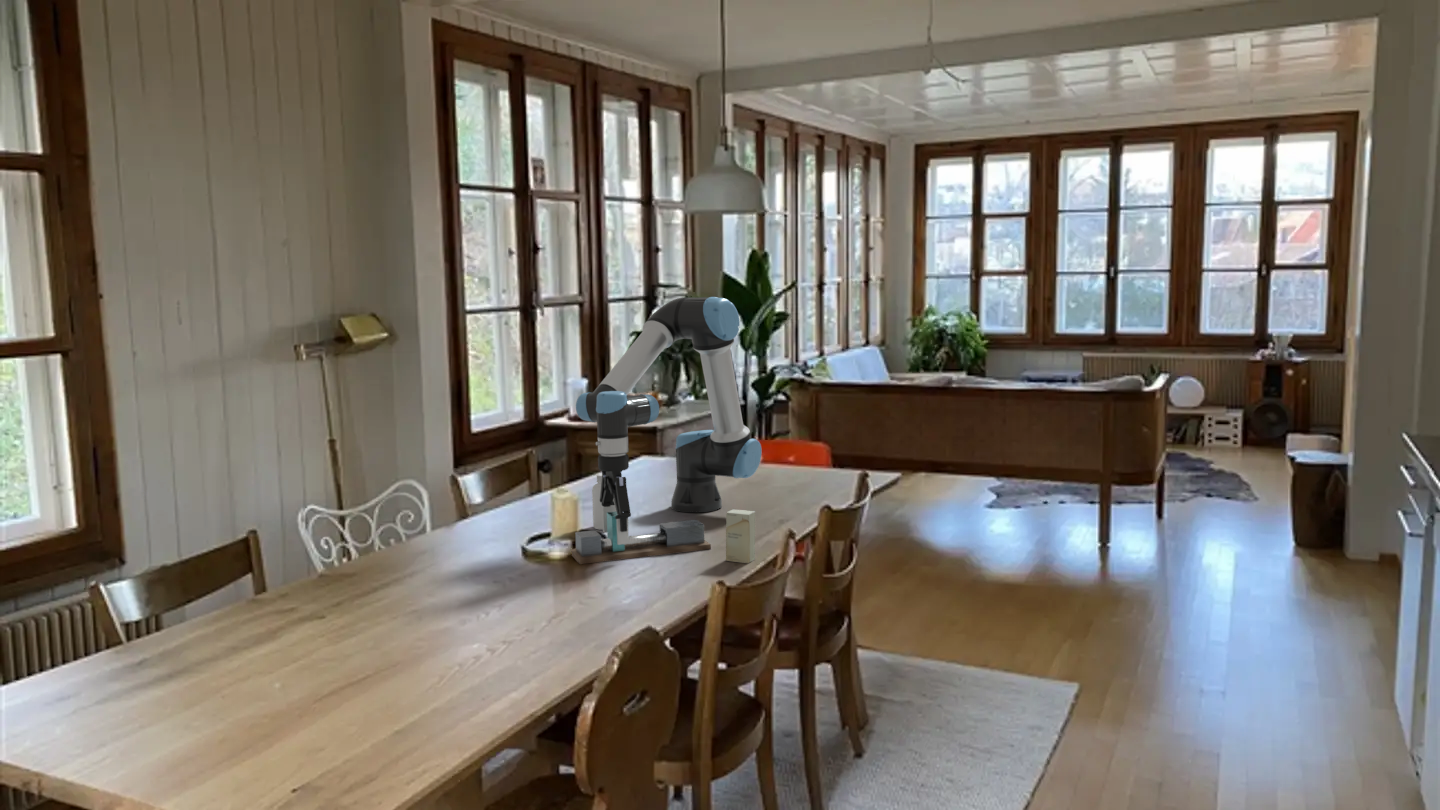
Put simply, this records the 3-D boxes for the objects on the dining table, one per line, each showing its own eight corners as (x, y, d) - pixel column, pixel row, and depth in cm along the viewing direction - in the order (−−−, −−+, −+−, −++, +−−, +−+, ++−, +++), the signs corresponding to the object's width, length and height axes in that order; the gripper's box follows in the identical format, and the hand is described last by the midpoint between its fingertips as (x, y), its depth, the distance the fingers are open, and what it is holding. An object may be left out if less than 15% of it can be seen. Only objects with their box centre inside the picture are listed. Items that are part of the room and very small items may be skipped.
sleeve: (696, 537, 271) (696, 519, 271) (704, 542, 266) (704, 524, 265) (659, 541, 268) (659, 523, 267) (667, 547, 262) (666, 528, 262)
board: (697, 540, 274) (697, 535, 274) (710, 548, 265) (710, 544, 264) (570, 554, 262) (570, 549, 262) (579, 564, 253) (579, 559, 252)
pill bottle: (624, 524, 293) (622, 471, 291) (618, 530, 285) (617, 477, 284) (596, 523, 294) (595, 471, 292) (590, 530, 286) (588, 477, 284)
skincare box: (725, 561, 253) (724, 512, 251) (732, 556, 257) (731, 508, 255) (749, 563, 250) (748, 514, 249) (756, 559, 254) (755, 510, 253)
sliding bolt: (668, 540, 268) (667, 506, 267) (674, 545, 264) (673, 510, 262) (580, 550, 260) (579, 515, 259) (585, 555, 255) (584, 519, 254)
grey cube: (595, 548, 262) (594, 530, 261) (601, 554, 256) (600, 535, 256) (576, 551, 260) (575, 532, 260) (581, 556, 255) (581, 537, 254)
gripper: (586, 447, 268) (589, 528, 271) (611, 462, 245) (614, 551, 247) (614, 445, 271) (616, 525, 273) (642, 460, 248) (644, 547, 250)
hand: (615, 537), depth 260 cm, fingers open, 13 cm apart
